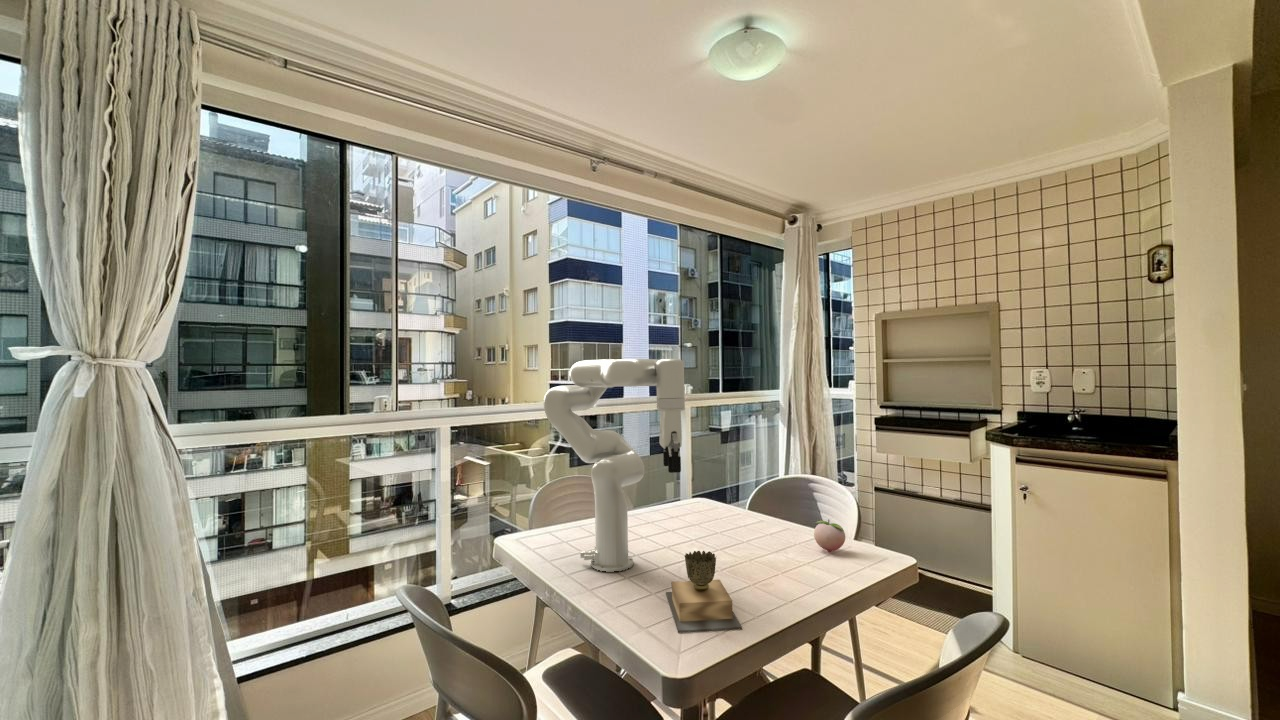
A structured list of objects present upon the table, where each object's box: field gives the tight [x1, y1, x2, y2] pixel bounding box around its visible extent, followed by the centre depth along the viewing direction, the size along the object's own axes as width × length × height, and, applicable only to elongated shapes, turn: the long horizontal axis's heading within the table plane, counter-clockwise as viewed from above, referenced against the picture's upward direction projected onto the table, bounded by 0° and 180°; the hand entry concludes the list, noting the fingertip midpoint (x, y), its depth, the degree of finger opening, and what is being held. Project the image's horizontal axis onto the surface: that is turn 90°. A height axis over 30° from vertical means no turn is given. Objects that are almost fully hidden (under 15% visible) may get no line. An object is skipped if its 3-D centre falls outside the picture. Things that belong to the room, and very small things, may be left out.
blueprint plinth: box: [665, 579, 743, 634], centre depth 121 cm, size 14×20×4 cm
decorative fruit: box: [813, 519, 846, 553], centre depth 158 cm, size 9×8×10 cm
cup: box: [684, 550, 717, 591], centre depth 122 cm, size 8×7×8 cm
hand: (671, 468), depth 137 cm, fingers open, 9 cm apart
